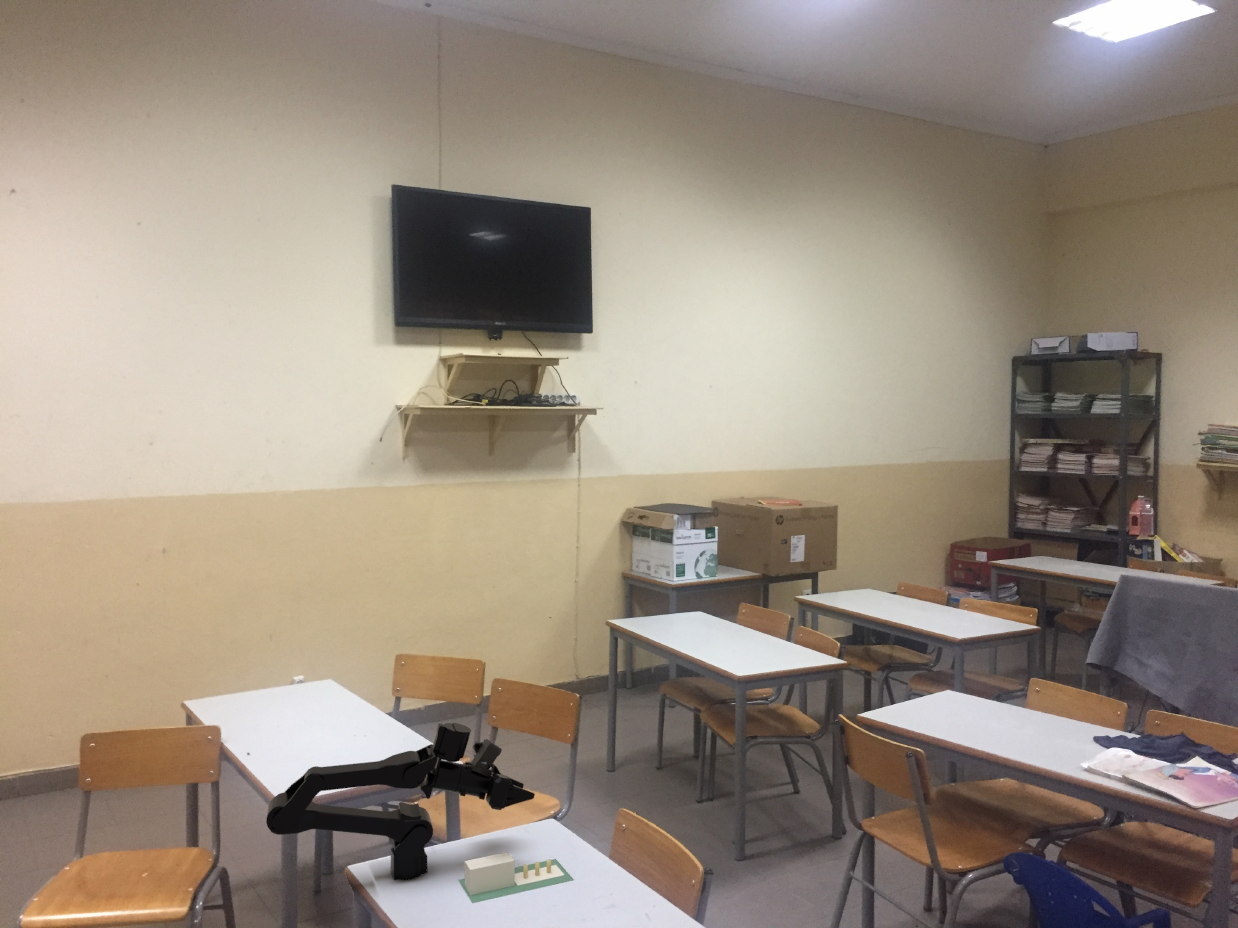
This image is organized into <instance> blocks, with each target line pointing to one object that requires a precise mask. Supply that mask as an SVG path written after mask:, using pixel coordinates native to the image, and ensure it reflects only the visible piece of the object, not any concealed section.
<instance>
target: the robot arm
mask: <svg viewBox="0 0 1238 928" xmlns="http://www.w3.org/2000/svg"><path fill="white" fill-rule="evenodd" d="M471 733H472V729H471V728H470V727H468V726H466V725H464V724H463V723H462V724H461V723H457V722H447V723H438V724H437V727H436V735H435V737H434V741H433V743H432V744H431V743H430V744H429V745H426V746H424V747H422V748H419V749H418V750H416V751H415V750H407V751H403V752H400V753H397V754H393V755H391V756H389V757H386V758H385V759H380V760H378V761H368V762H359V763H357V762H356V763H349V764H348V763H347V764H337V765H328V766H312V767H310V768H308V769H307V770H306V771H305V773H303V774H302V776H301V777H299V778H298V779H297V780H295V781H294V782H293V783H291V785H289V787H288V788H286V790H285V791H284V792H280V793H278V794H276V795H274V796H273V798H271V800H270V801H269V804H268V805H267V812H266V826H267V829H268V830H269V831H270V833H272V834H273V835H279V836H282V835H296V834H301V833H303V832H307V831H310V830H320V831H329V832H330V831H332V832H341V833H351V834H360V835H361V834H362V835H373V836H381V837H382V836H383V837H387V838H389V839H390V840H392V844H393V845H392V846H393V847H392V848H390V875H391V877H392V878H393V880H394V881H398V880H399V881H411V880H412V881H413V880H415V879H417V878H419V877H421V876H423V875H425V874H427V873H428V854H427V852H426V851H425V847H426V844H428V843H429V842H430V841H431V840H432V838H433V834H434V828H433V827H434V826H433V824H432V820H431V816H430V813H429V812H428V810H427V809H426V808H424V807H422V806H420V805H419V803H418V802H416V803H413V804H410V803H405V802H403V801H400V802H398V808H397V809H394V810H390V811H383V810H375V809H367V808H355V807H348V806H347V807H346V806H345V807H344V806H335V805H328V804H327V805H326V804H318V803H315V802H313V800H314V799H315V797H316V796H318V794H319V793H320V792H323V791H333V790H335V791H336V790H342V789H350V788H351V789H352V788H361V787H362V788H363V787H369V786H370V787H371V786H378V785H379V786H387V787H390V788H391V787H392V788H394V789H407V790H408V789H409V790H410V789H411V790H412V789H416V788H420V790H421V791H422V792H423V794H424V795H425V799H428V800H429V799H431V796H432V793H433V790H438V791H445V792H448V793H449V792H450V793H455V794H459V797H460V796H461V797H466V796H471V797H477V798H478V799H479V800H482V801H483V800H485V801H486V802H487V804H488V806H489V807H490V808H491V809H492V810H497V811H502V810H503V809H505V808H508V807H511V806H513V805H516V804H521V803H523V802H528V801H530V800H534V799H535V795H536V794H535V793H534V792H532V791H530V790H528V789H525V788H524V787H525V785H524V783H523V782H521V781H520V780H516V779H514V778H512V777H510V776H508V775H504V774H503V773H501V772H500V770H499V768H498V767H497V766H496V765H495V764H494V763H495V761H496V760H497V758H498V757H499V756H500V755H501V753H502V751H503V749H502V748H501V747H499V746H498V745H497V744H495V743H494V742H492V741H491V740H489V739H488V738H485V739H483V741H475V742H474V744H473V745H472V749H473V751H474V754H473V759H472V760H471V762H470V761H465V762H462V763H459V761H460V760H461V759H463V758H464V756H465V752H466V749H467V746H468V742H469V739H470V736H471Z"/></svg>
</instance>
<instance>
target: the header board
mask: <svg viewBox="0 0 1238 928" xmlns="http://www.w3.org/2000/svg"><path fill="white" fill-rule="evenodd" d="M457 880H458V882H459V884H460V885H461V887H462V888H463V891H464V892H465V893H466V896H467V897H468V898H469V900H470V902H471V904H475V903H480V902H484V901H490V900H492V899H497V898H502V897H506V896H507V897H508V896H511V895H515V894H520V893H524V892H527V891H532V890H536V889H541V888H545V887H550V886H551V887H552V886H554V885H559V884H563V883H568V882H572V881H574V880H575V879H574V878H573V877H572V876H571V874H570V873H569V872H568V871H567V870H566V869H565V868H564V867H563V865H562V864H561V863H560V862H559V860H558V859H557V858H554V859H547V860H543V861H540V862H539V861H535V862H534V863H530V864H523V865H522V866H516V867H515V885H514V886H510V887H505V888H501V889H496V890H492V891H487V892H483V893H478V894H474V895H470V894H469V892H468V890H467V889H466V887H465V877H464V878H461V879H457Z"/></svg>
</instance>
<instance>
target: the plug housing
mask: <svg viewBox="0 0 1238 928" xmlns="http://www.w3.org/2000/svg"><path fill="white" fill-rule="evenodd" d="M515 861H516V860H515V859H514V858H513V857H512V855H511V854H510V852H502V853H497V854H492V855H487V856H483V857H478V858H472V859H469V860H464V878H465V887H466V889H467V890H468V892H469V894H470V895H474V894H478V893H483V892H487V891H492V890H496V889H501V888H505V887H510V886H514V885H515V863H516V862H515Z"/></svg>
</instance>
